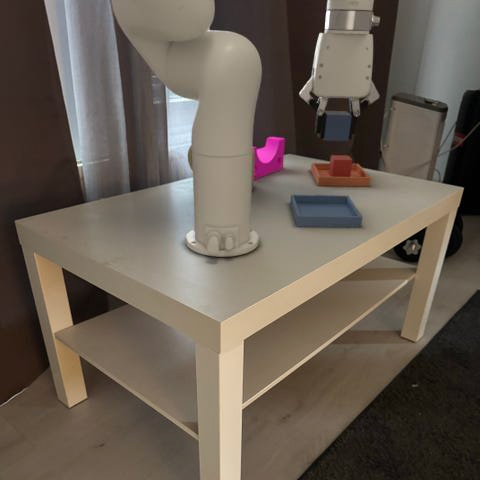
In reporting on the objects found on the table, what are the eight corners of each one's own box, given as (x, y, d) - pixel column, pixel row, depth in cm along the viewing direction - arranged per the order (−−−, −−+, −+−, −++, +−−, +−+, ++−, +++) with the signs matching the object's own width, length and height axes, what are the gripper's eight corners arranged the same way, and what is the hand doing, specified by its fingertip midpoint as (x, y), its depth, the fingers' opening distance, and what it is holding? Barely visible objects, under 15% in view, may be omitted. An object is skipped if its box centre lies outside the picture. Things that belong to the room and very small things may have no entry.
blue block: (348, 141, 89) (351, 115, 86) (324, 140, 89) (326, 114, 86) (343, 136, 93) (346, 111, 90) (320, 135, 93) (322, 110, 90)
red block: (350, 178, 118) (352, 159, 116) (331, 178, 118) (333, 159, 116) (346, 173, 122) (348, 155, 119) (328, 173, 122) (330, 155, 119)
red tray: (369, 186, 115) (370, 177, 113) (318, 185, 114) (319, 177, 113) (357, 171, 126) (358, 163, 125) (310, 170, 126) (311, 162, 124)
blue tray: (360, 227, 91) (362, 217, 90) (296, 226, 91) (297, 216, 90) (347, 204, 103) (348, 195, 102) (290, 203, 102) (290, 194, 101)
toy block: (263, 164, 130) (264, 135, 126) (282, 168, 127) (284, 138, 123) (230, 176, 120) (230, 144, 116) (250, 180, 117) (251, 148, 113)
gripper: (391, 25, 84) (373, 134, 94) (295, 22, 84) (287, 133, 94) (404, 25, 78) (384, 143, 88) (300, 22, 78) (291, 141, 87)
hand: (334, 136), depth 91 cm, fingers closed on blue block, 4 cm apart
